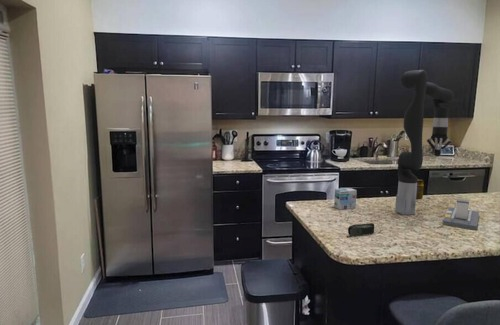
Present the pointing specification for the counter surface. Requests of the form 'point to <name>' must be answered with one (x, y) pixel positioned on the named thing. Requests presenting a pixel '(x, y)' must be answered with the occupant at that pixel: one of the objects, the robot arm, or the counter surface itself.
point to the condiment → (419, 190)
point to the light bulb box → (345, 198)
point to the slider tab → (462, 208)
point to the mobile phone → (360, 229)
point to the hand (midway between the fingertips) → (437, 156)
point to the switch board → (462, 223)
